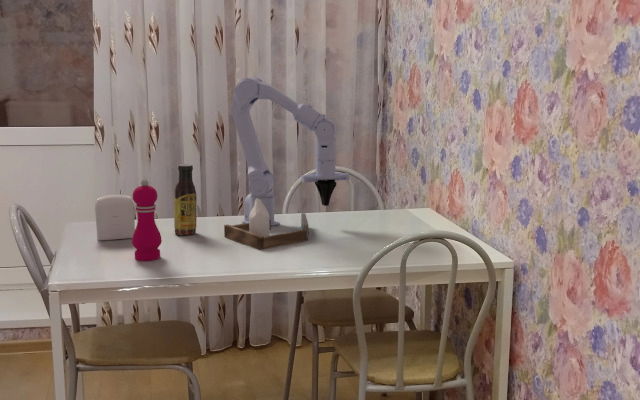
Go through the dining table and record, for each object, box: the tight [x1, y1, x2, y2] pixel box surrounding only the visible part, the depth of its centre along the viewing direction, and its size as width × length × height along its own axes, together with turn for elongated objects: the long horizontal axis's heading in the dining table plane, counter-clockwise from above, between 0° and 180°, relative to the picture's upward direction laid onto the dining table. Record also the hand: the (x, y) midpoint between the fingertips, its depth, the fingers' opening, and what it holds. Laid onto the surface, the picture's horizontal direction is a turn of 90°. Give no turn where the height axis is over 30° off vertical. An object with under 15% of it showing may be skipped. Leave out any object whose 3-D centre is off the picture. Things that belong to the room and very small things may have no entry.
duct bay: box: [223, 220, 309, 251], centre depth 197 cm, size 17×17×4 cm
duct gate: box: [300, 212, 309, 230], centre depth 203 cm, size 15×1×4 cm, turn 5°
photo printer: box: [94, 194, 136, 242], centre depth 195 cm, size 10×4×12 cm, turn 108°
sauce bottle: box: [173, 163, 198, 236], centre depth 200 cm, size 6×6×20 cm
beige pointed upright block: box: [249, 198, 271, 237], centre depth 194 cm, size 6×12×6 cm
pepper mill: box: [131, 178, 163, 262], centre depth 175 cm, size 7×7×20 cm
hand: (325, 205), depth 210 cm, fingers closed
